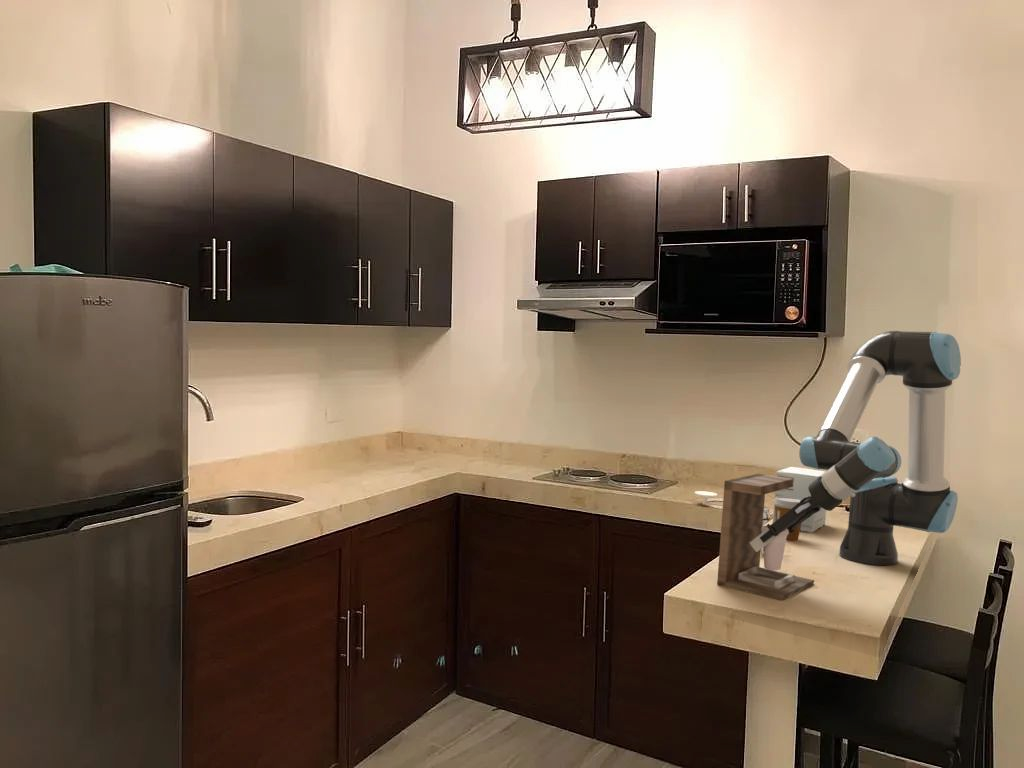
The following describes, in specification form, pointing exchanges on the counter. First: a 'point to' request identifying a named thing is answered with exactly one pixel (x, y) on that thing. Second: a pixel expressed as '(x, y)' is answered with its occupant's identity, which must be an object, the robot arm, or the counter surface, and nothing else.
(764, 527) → the smoothie
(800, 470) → the supplement box
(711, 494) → the hand towel holder
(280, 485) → the counter surface
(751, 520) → the overhang shelf
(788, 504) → the disposable coffee cup
